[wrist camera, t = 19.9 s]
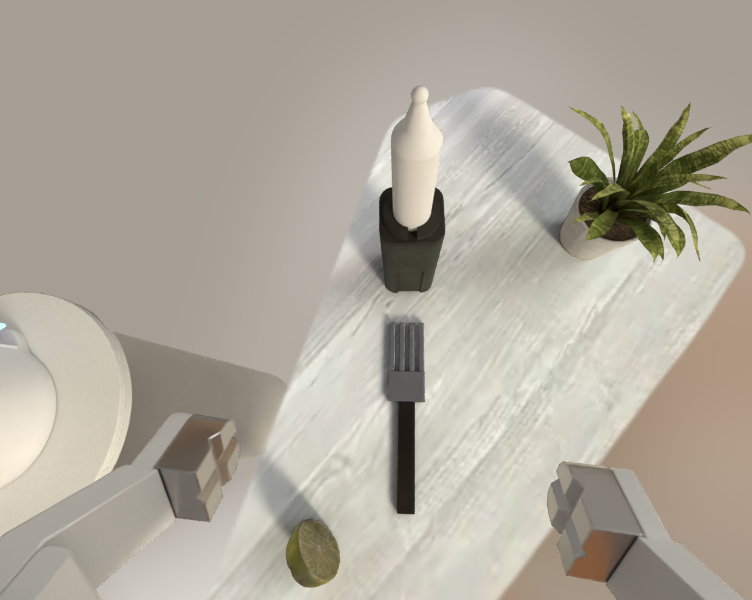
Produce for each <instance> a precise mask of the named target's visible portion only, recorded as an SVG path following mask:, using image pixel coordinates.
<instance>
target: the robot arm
mask: <svg viewBox="0 0 752 600" xmlns="http://www.w3.org/2000/svg"><path fill="white" fill-rule="evenodd" d="M5 326H6V325H5V324H3V323H0V489H2V488H3V487H5V486H7V485H8V484H10V483H11V482H13V481H14V480H15V479H17V478H18V477H19V476H20V475H21V474H23V473H24V472H25V471H26V470H27V469H28V468H29V467H30V466H31V464H32V463H33V462H34V461H35V460H36V458H37V457H38V455H39V454H40V452H41V451H42V449H43V448H44V446H45V444H46V442H47V440H48V438H49V435H50V433H51V430H52V427H53V424H54V420H55V414H56V391H55V386H54V383H53V380H52V377H51V375H50V373H49V372H48V370H47V369H46V367H45V366H44V365H43V364H42V363H41V362H40V361H39V360H38V359H37V358H36V357H35V356H34V355H33V354H32V353H31V352H30V350H29V346H28V343H27V340H26V338H25V336H24V334H23V333H22V332H21V331H20V330H14V329H4V330H1V329H2V328H4V327H5ZM235 432H236V426H235V422H234V421H233V420H228V419H222V418H215V417H209V416H202V415H196V414H188V413H181V412H175V413H173V414H172V415H170V416H169V417H168V418H167V420H166V421H165V422H164V423H163V425H162V426H161V427H160V428H159V430H158V431H157V432H156V433H155V435H154V436H153V437H152V438H151V440H150V441H149V442H148V443H147V445H146V446H145V447H144V448H143V450H142V451H141V452H140V454H139V455H138V456H137V457H136V459H135V460H134V461H133V462H132V464H131V465H123V466H121V467H119V468H118V469H116V470H114V471H112V472H111V473H109V474H107V475H105V476H104V477H102V478H100V479H98V480H97V481H95V482H93V483H91V484H90V485H88V486H86V487H85V488H83V489H81V490H79V491H78V492H76V493H74V494H72V495H71V496H69V497H67V498H65V499H64V500H62V501H60V502H58V503H57V504H55V505H53V506H51V507H50V508H48V509H46V510H44V511H43V512H41V513H39V514H38V515H36V516H34V517H32V518H31V519H29V520H27V521H25V522H24V523H22V524H20V525H18V526H17V527H15V528H13V529H11V530H10V531H8V532H6V533H4V534H3V535H2V536H1V537H0V600H102V598H101V597H100V595H99V594H98V592H97V591H96V588H97V587H99V586H100V585H101V584H102V583H103V582H104V581H105V580H106V579H108V578H109V577H110V576H111V575H112V574H114V573H115V572H116V571H117V570H118V569H120V568H121V567H122V566H123V565H124V564H125V563H126V562H128V561H129V560H130V559H131V558H132V557H134V556H135V555H136V554H137V553H138V552H139V551H141V549H143V548H144V547H145V546H146V545H148V543H150V542H151V541H152V540H153V539H155V538H156V537H157V536H158V535H159V534H160V533H162V532H163V531H164V530H165V529H166V528H167V527H169V526H170V525H171V524H172V523H173V522H174V521H175V520H176V518H181V519H189V520H198V521H206V522H210V521H211V519H212V517H213V515H214V513H215V511H216V509H217V507H218V505H219V503H220V501H221V499H222V497H223V494H222V488H221V487H222V486H223V485H225V484H226V483H227V482H229V481H230V480H231V479H232V477H233V475H234V473H235V471H236V469H237V465H238V461H239V458H240V446H239V442H238V441H237V440H236V439H235V438H234V437H233V435H234V434H235ZM556 472H557V475H558V478H559V479H558V480H556V481H554V482H552V483H551V485H550V488H549V490H548V497H547V507H548V514H549V518H550V521H551V525H552V526H553V527H554V528H555V529H556V530H557V531H558V532H559V533H560V535H561V536H560V539H559V541H558V543H557V546H558V550H559V553H560V556H561V560H562V563H563V567H564V570H565V574H566V576H571V577H576V578H582V579H588V580H593V581H599V582H604V583H606V586H607V587H608V589H609V590H610V591H611V593H612V594H613V595H614V597H615V598H616V599H617V600H744V599H743V598H742V597H741V596H740V595H739V594H737V593H736V592H735V591H734V590H733V589H732V588H731V587H729V586H728V585H727V584H726V583H725V582H724V581H723V580H722V579H720V578H719V577H718V576H717V575H716V574H715V573H714V572H712V571H711V570H710V569H709V568H708V567H707V566H706V565H704V564H703V563H702V562H701V561H700V560H699V559H698V558H696V557H695V556H694V555H693V554H692V553H691V552H690V551H689V550H687V549H686V548H685V547H684V546H683V545H682V544H681V543H679V542H673V541H672V540H671V538H670V537H669V535H668V533H667V531H666V529H665V528H664V526H663V524H662V522H661V520H660V518H659V516H658V515H657V513H656V511H655V509H654V507H653V506H652V504H651V502H650V500H649V498H648V496H647V494H646V493H645V491H644V489H643V487H642V485H641V484H640V482H639V480H638V479H637V477H636V475H635V473H633V472H632V471H631V470H628V469H620V468H612V467H605V466H599V465H590V464H581V463H572V462H564V461H563V462H562V463H560V464H559V466H558V468H557V471H556Z"/></svg>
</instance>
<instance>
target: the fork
mask: <svg viewBox="0 0 752 600" xmlns="http://www.w3.org/2000/svg"><path fill="white" fill-rule="evenodd" d="M404 357H405V323H400V366H399V371H395V323H390V371H389V401H399V408H398V489H397V513H398V514H415V402H425V372H424V323H419V371H414V323H410V324H409V371H404Z"/></svg>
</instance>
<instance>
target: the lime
mask: <svg viewBox="0 0 752 600" xmlns="http://www.w3.org/2000/svg"><path fill="white" fill-rule="evenodd" d="M286 559H287V565H288V567H289V568H290V570H291V573H292V576H293V578H294V579H295V580H296V582H298V583H299V584H300V585H302V586H303V587H310V588H311V587H318V586H320V585H323V584H325V583H327V582H329V581H331V580H332V579H333V578H334V577H335V576H336V574H337V571H338V568H339V563H340V551H339V548H338V544H337V542H336V539H335V538H334V536H333V535H332V534H331V532H330V531H329V530H328V529H327V528H326V527H325V526H324V525H323V524H322V523H320V522H318V521H316V520H315V519H307V520H305V521H303V522H302V523H300V524H299V525H298V526H297V528H296V529H295V530H294V531H293V533H292V534H291V537H290V539H289V541H288V544H287V548H286Z"/></svg>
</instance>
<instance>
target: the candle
mask: <svg viewBox="0 0 752 600" xmlns="http://www.w3.org/2000/svg"><path fill="white" fill-rule="evenodd" d="M411 98H412V103H411V105H410V108H409V110H408V112H407V114H406V116H405V118H404V119H402V120H401V121H400V122H399V123H398V124H397V125H396V126H395V128H394V130H393V132H392V136H391V161H392V187H391V188H388V189H386V190H385V191H383V193H382V194H381V196H380V200H379V232H380V241H381V250H382V259H383V268H384V277H385V285H386V288H387V289H388V290H389V291H391V292H393V293H397V292H398V291H420V292H425V291H427V290H428V289H429V288H430V287H431V284H432V281H433V277H434V273H435V269H436V266H437V262H438V258H439V254H440V250H441V247H442V243H443V239H444V235H445V217H444V200H443V195H442V193H441V192H440V190H439V189H437V188H435V185H436V179H437V173H438V167H439V161H440V155H441V149H442V142H443V136H442V131H441V129H440V127H439V125H438V124H437V123H436V122H435V121H434V120H433V119H432V118H431V115H430V112H429V108H428V105H427V102H426V101H427V99H428V90H427V89H426V88H425V87H423V86H417V87H415V88H414V89H413V90H412V92H411Z"/></svg>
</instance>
